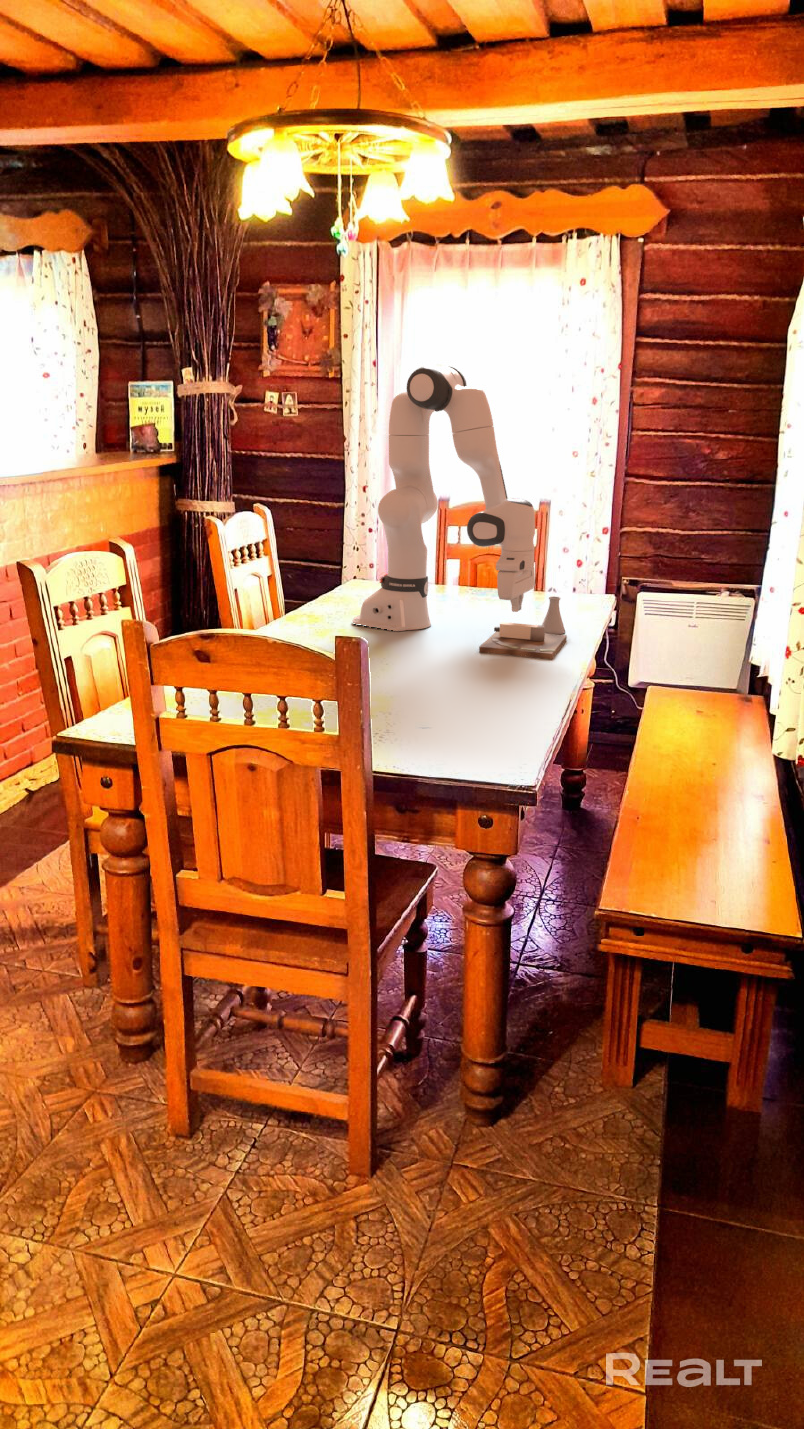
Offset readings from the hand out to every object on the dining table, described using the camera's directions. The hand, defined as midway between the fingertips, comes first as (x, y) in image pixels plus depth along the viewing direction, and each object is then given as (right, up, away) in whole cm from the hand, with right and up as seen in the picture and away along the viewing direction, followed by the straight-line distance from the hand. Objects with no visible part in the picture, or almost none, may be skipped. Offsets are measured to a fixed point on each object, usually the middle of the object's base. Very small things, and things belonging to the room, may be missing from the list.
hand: (516, 610), depth 283 cm
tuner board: (+1, -10, -6) cm, 12 cm away
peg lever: (0, -8, -4) cm, 9 cm away
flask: (+11, -5, +11) cm, 17 cm away
